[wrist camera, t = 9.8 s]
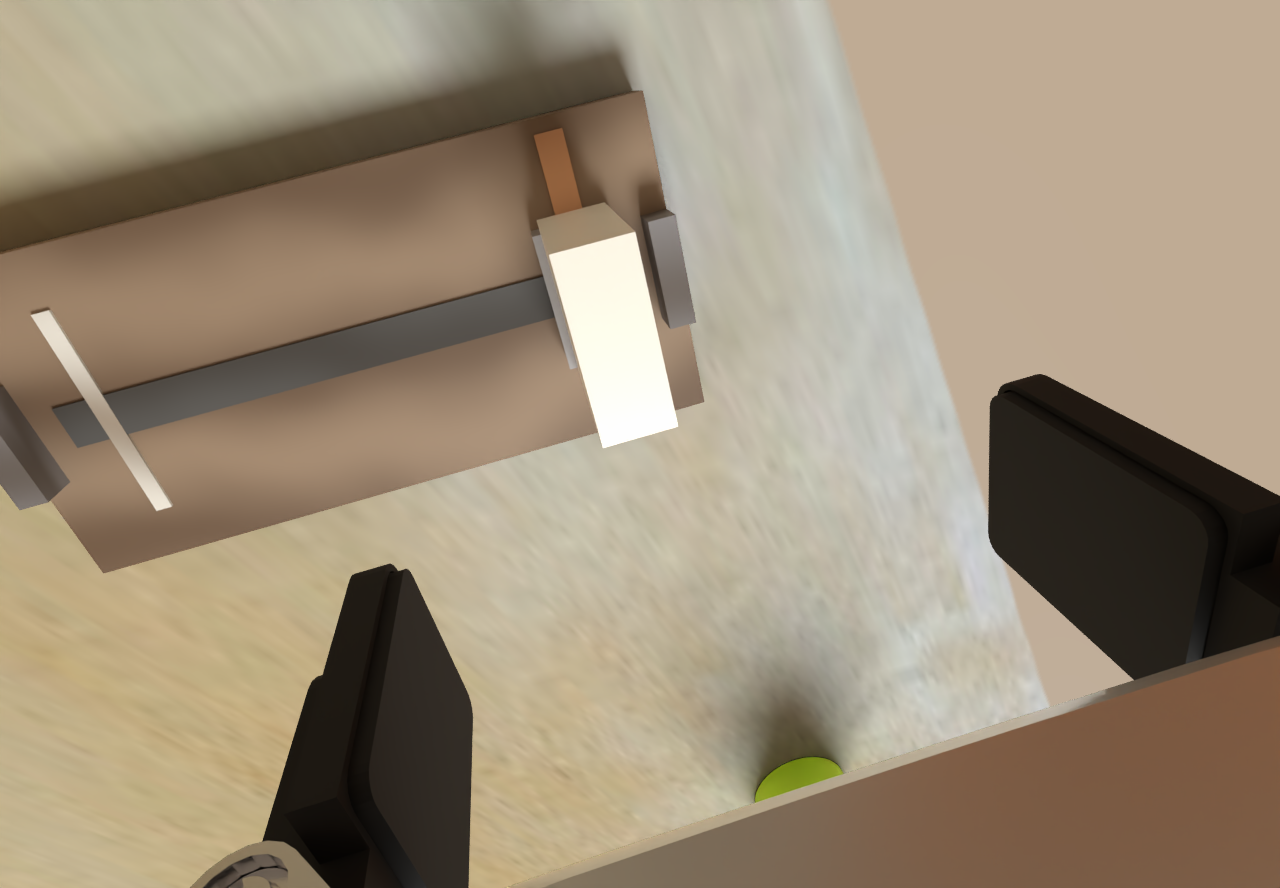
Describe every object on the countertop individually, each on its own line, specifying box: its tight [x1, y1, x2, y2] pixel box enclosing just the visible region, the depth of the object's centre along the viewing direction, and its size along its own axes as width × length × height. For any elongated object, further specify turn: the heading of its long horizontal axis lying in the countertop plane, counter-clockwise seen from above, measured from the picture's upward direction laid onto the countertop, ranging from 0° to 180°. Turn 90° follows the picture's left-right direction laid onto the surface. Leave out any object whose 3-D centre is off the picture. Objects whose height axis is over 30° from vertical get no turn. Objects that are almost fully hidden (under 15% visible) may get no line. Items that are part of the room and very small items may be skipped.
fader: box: [531, 202, 678, 448], centre depth 24 cm, size 6×3×7 cm, turn 13°
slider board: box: [0, 91, 704, 573], centre depth 27 cm, size 12×25×4 cm, turn 103°
